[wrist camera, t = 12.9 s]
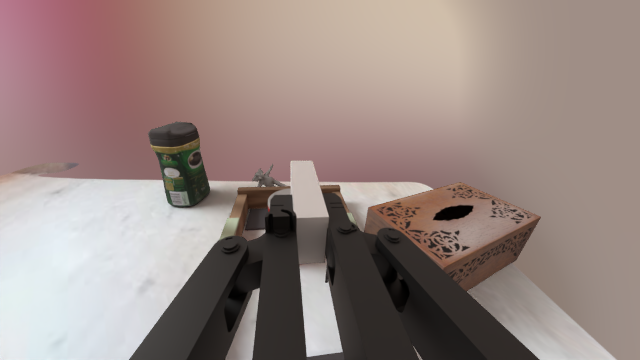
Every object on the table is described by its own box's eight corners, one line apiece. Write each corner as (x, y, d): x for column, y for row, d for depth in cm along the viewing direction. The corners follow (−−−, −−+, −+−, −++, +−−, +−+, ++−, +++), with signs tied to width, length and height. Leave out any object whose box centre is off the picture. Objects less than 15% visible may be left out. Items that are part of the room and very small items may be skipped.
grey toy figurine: (274, 204, 56) (243, 187, 57) (276, 208, 62) (247, 193, 62) (294, 171, 59) (264, 156, 60) (294, 178, 65) (266, 164, 65)
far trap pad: (335, 225, 49) (335, 224, 49) (245, 230, 46) (245, 228, 46) (329, 206, 56) (329, 205, 56) (250, 209, 53) (250, 208, 53)
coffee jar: (187, 187, 61) (171, 118, 53) (215, 190, 61) (202, 120, 52) (161, 206, 53) (136, 127, 44) (193, 210, 52) (174, 130, 44)
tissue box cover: (423, 319, 31) (443, 267, 27) (360, 251, 43) (368, 207, 38) (515, 260, 43) (541, 217, 38) (447, 219, 54) (460, 182, 50)
